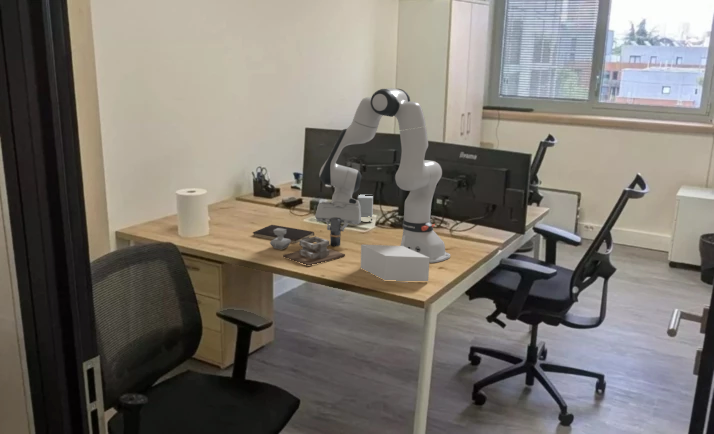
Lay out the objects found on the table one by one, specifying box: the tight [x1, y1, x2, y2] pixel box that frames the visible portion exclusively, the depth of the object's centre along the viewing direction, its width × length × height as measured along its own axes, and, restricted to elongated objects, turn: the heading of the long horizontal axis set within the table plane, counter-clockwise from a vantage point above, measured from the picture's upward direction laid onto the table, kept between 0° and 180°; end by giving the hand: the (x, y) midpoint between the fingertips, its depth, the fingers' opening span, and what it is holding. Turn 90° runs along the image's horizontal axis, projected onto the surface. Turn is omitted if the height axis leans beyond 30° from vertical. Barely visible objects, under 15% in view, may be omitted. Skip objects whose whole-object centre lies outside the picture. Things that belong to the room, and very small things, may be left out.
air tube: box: [329, 217, 342, 247], centre depth 289 cm, size 5×5×12 cm
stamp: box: [269, 228, 292, 250], centre depth 283 cm, size 9×7×8 cm
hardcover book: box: [252, 224, 315, 244], centre depth 302 cm, size 16×23×2 cm
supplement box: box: [357, 194, 374, 217], centre depth 329 cm, size 7×7×13 cm
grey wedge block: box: [360, 244, 430, 282], centre depth 252 cm, size 14×29×10 cm, turn 60°
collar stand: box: [282, 235, 346, 265], centre depth 273 cm, size 16×20×7 cm
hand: (335, 230), depth 288 cm, fingers closed on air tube, 4 cm apart
